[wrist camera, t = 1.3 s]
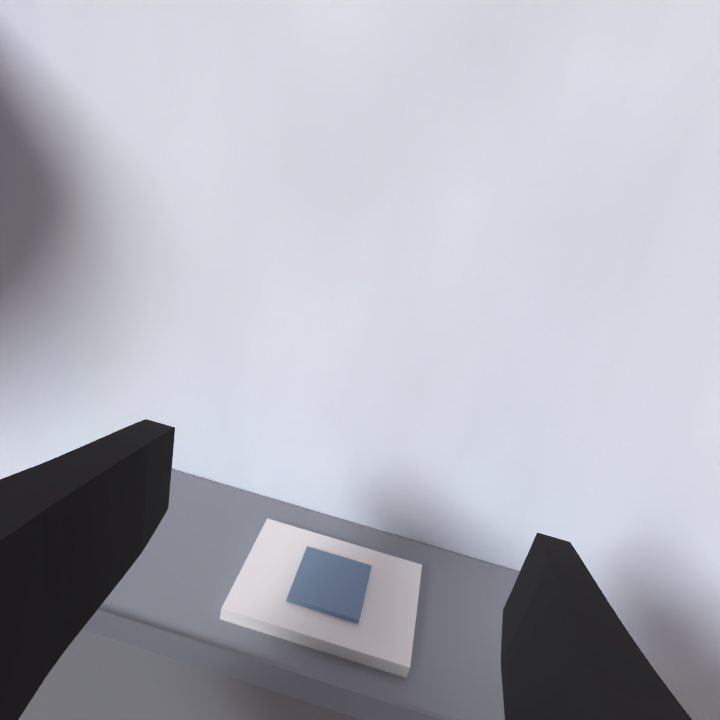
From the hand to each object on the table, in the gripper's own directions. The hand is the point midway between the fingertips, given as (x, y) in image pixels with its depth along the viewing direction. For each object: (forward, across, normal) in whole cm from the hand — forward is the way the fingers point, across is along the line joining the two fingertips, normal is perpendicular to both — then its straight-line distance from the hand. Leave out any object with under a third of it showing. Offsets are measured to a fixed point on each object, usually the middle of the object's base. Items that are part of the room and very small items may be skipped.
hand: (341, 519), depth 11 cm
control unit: (+6, 0, +8) cm, 10 cm away
